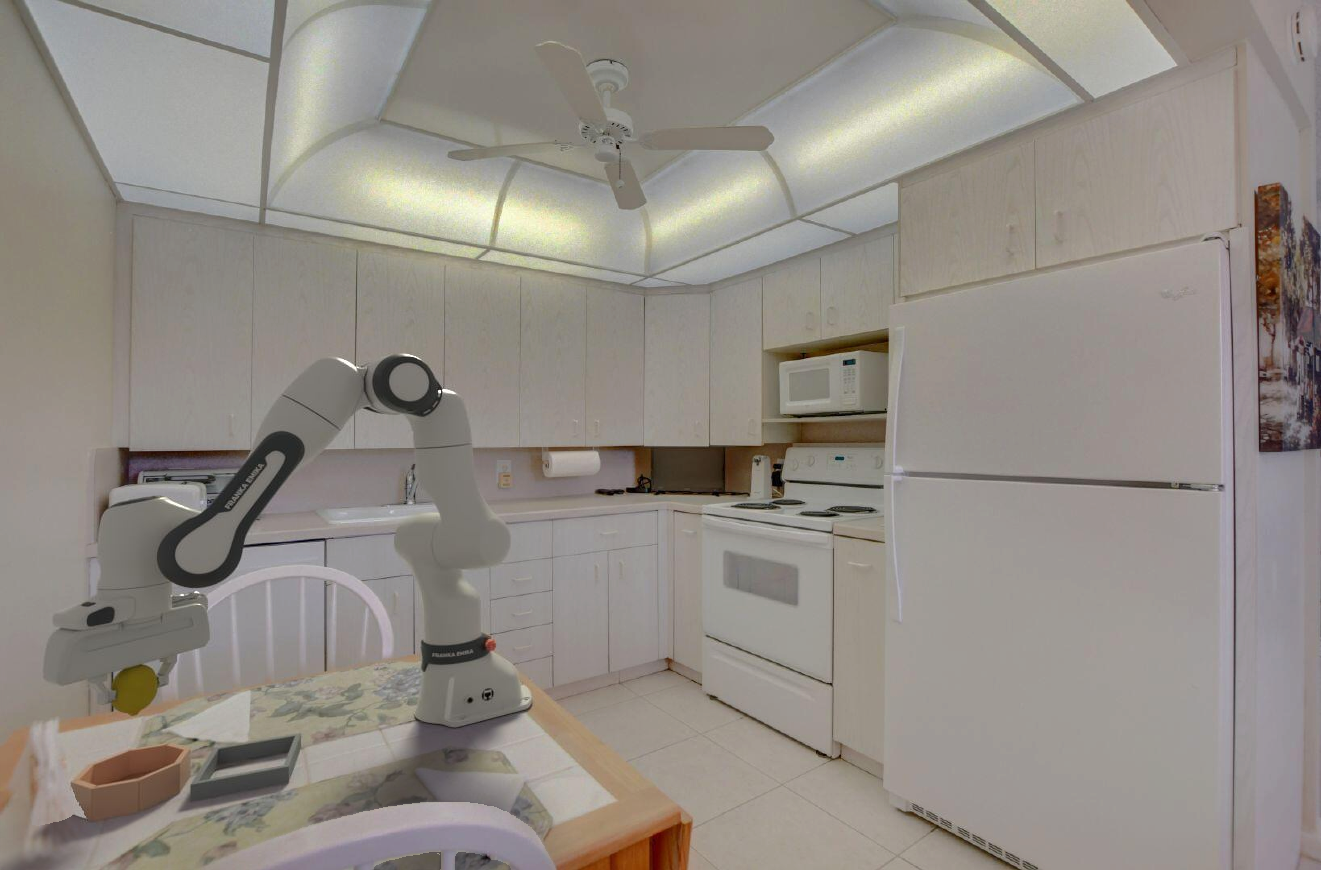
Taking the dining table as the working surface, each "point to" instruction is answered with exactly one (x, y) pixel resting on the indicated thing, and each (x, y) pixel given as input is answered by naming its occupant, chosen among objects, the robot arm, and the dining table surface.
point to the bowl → (132, 780)
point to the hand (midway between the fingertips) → (134, 694)
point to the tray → (247, 780)
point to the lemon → (134, 689)
